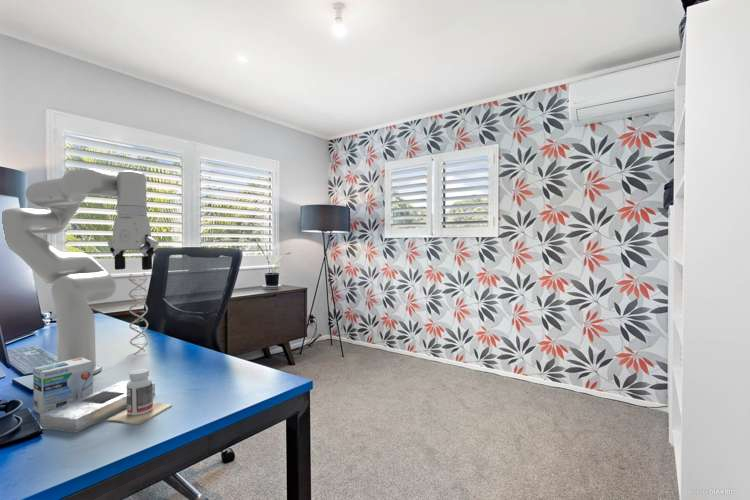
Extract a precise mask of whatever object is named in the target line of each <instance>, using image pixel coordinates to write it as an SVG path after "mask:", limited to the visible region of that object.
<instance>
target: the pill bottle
mask: <svg viewBox="0 0 750 500" xmlns="http://www.w3.org/2000/svg"><path fill="white" fill-rule="evenodd" d="M149 375H150V370H149V369H148V368H140V369H134V370H132V371H130V372H129V380H128V381H129V382H128V383H127V385H126V393H127V408H126V409H127V414H128V415H132V416H135V415H141V414H145V413H147V412H149V411H151V410H152V408H153V403H154V402H153V401H154V400H153V399H154V398H153V397H154V396H153V395H154V394H153V392H152V383H153V380H152V378H151V377H149Z"/></svg>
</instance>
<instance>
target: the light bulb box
mask: <svg viewBox="0 0 750 500" xmlns="http://www.w3.org/2000/svg"><path fill="white" fill-rule="evenodd" d="M32 374H33V375H32V377H33V382H32V384H33V387H32V388H33V411H34V412H36V413H37V414H39V415H41V414H44V413H46V412H49V411H51V410H53V409H56V408H58V407H61V406H63V405H66V404H68V403H70V402H73V401H75V400H78V399H80V398H82V397H85V396H87V395H90V394H92V393H94V391H93V390H94V388H93V387H94V385H93V382H94V381H93V375H94V374H93V362H92V361H90V360H87V359H85V358H82V357H81V358H77V359H72V360H68V361H63V362H58V363H54V364H46V365H41V366H36V367H33V371H32Z"/></svg>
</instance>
